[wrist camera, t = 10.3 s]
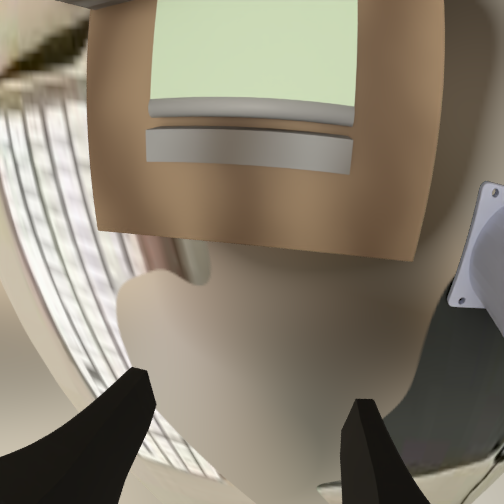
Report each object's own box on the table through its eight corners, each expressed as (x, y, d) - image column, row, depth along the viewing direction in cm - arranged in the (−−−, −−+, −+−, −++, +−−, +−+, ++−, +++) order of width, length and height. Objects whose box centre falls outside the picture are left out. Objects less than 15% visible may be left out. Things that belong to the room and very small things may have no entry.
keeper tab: (354, -3, 11) (358, -11, 10) (349, 126, 13) (353, 126, 12) (164, -3, 12) (156, -9, 11) (156, 117, 14) (147, 117, 13)
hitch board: (423, -97, 7) (452, -139, 2) (407, 253, 17) (438, 310, 12) (118, -95, 9) (72, -125, 4) (106, 224, 19) (54, 265, 14)
